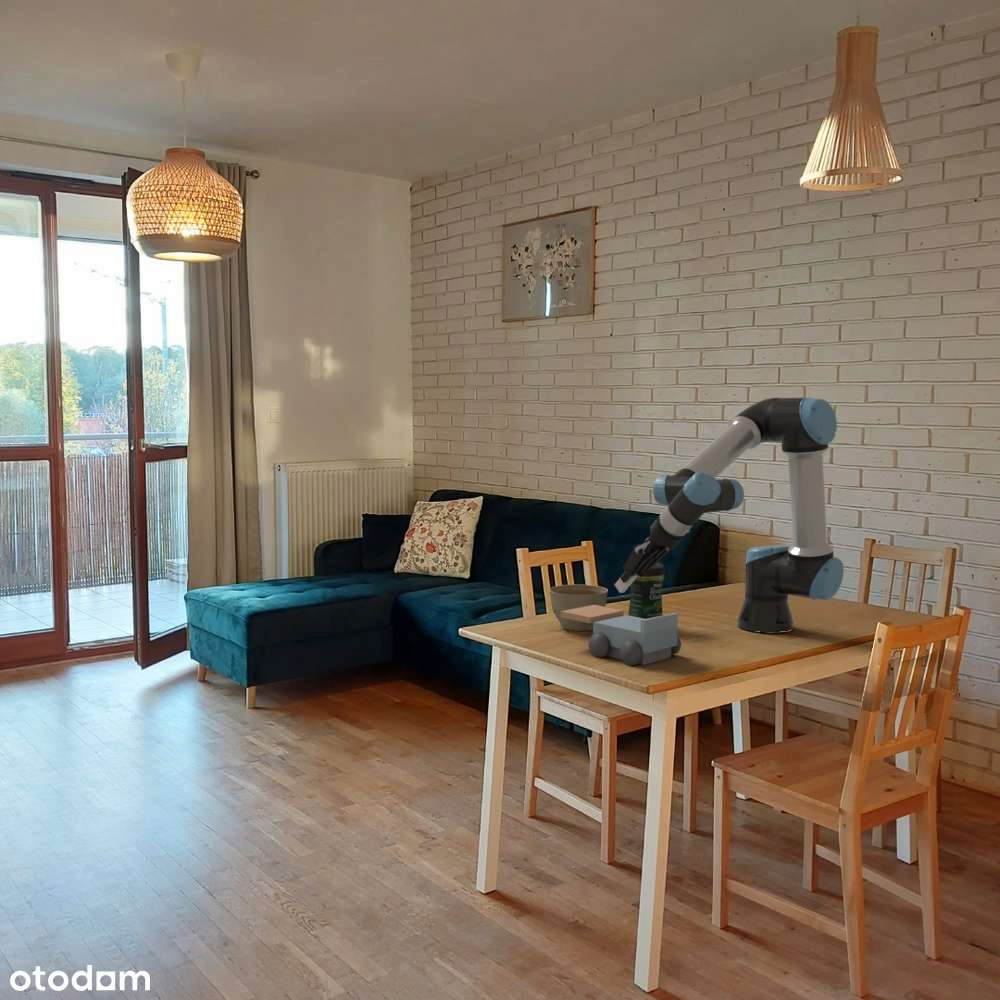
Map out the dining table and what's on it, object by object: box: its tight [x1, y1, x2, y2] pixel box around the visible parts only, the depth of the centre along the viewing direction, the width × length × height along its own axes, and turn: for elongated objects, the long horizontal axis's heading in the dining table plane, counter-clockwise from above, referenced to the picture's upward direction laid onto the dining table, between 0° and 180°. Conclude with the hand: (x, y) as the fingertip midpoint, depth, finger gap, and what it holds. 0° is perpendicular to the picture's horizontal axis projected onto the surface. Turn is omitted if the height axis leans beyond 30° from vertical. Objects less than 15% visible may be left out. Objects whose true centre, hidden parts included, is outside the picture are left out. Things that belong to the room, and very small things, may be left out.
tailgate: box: [561, 605, 625, 623], centre depth 260 cm, size 2×13×10 cm
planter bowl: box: [548, 584, 609, 632], centre depth 280 cm, size 16×16×11 cm
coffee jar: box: [627, 561, 665, 619], centre depth 282 cm, size 10×8×19 cm
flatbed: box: [588, 612, 682, 667], centre depth 250 cm, size 16×17×11 cm
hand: (619, 588), depth 254 cm, fingers closed
